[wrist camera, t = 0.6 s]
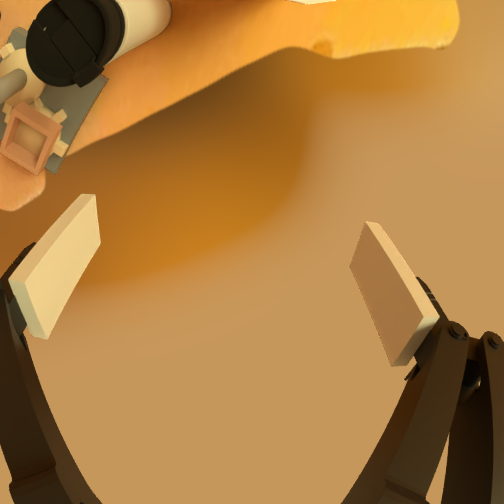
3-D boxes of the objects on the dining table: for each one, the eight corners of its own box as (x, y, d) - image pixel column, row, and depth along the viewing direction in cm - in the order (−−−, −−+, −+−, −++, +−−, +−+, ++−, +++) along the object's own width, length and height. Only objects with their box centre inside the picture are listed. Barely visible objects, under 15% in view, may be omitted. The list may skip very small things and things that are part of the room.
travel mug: (139, 51, 29) (57, 112, 15) (109, 12, 25) (2, 45, 11) (184, 21, 27) (132, 48, 13) (154, -20, 23) (71, -30, 9)
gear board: (21, 24, 22) (-22, 39, 16) (110, 76, 31) (81, 100, 25) (-16, 121, 30) (-50, 151, 24) (59, 168, 39) (33, 206, 33)
